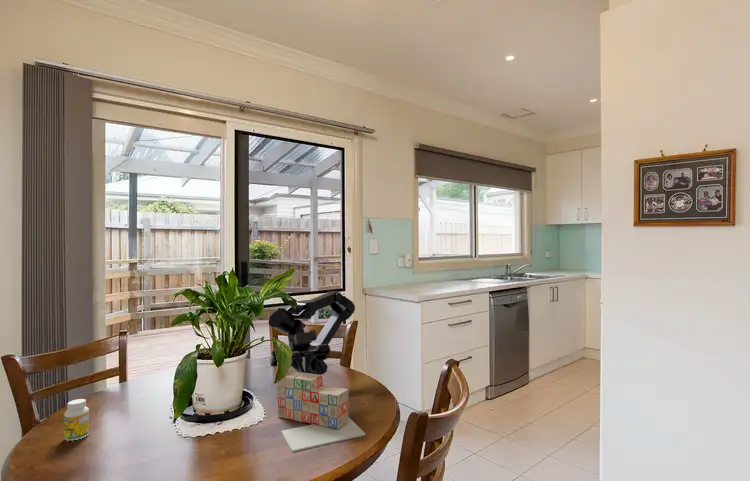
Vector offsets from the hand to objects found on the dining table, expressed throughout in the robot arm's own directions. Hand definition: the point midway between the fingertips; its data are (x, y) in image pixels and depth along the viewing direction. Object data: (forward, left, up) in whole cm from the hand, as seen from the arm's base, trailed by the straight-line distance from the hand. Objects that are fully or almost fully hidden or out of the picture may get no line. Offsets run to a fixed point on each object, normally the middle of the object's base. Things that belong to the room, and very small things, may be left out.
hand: (305, 379), depth 124 cm
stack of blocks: (+7, 0, -10) cm, 12 cm away
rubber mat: (+16, 0, -10) cm, 19 cm away
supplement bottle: (-11, -60, -10) cm, 62 cm away
